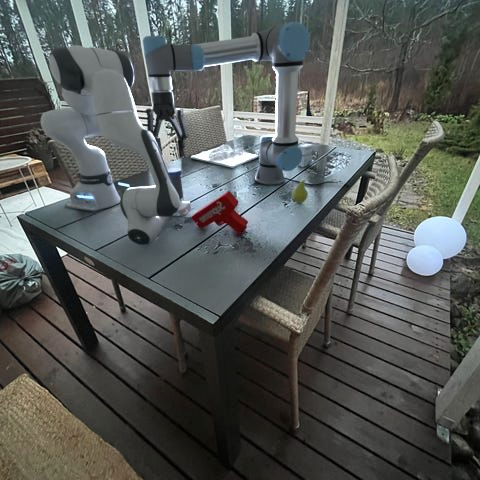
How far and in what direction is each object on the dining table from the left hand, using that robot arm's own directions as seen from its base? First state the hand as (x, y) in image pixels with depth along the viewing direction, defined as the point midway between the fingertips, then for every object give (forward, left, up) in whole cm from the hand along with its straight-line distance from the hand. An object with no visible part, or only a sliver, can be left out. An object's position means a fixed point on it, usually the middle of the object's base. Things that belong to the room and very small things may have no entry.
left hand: (170, 199), depth 110 cm
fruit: (+53, +17, -6) cm, 56 cm away
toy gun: (+22, -11, -6) cm, 26 cm away
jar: (0, +6, -6) cm, 9 cm away
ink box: (+58, +72, -6) cm, 93 cm away
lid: (0, +6, +10) cm, 12 cm away
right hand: (0, +6, +15) cm, 17 cm away
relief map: (+7, +81, -6) cm, 82 cm away
